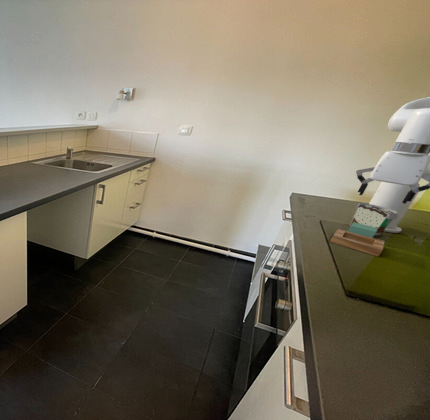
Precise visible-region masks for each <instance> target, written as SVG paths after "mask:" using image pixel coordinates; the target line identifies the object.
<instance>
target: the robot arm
mask: <svg viewBox="0 0 430 420" xmlns="http://www.w3.org/2000/svg"><path fill="white" fill-rule="evenodd" d="M387 129H388V130H389V131H391V132H395V133H399V135H398V136H397V137H396V140H395V142H394V143H393V145H392V147H391V149H390V151H385V152H384V153H383V154H382V155H381V157H380V158H379V160H378V161H377V163H376V164H375V166H373V167H367V168H362V169H357V170H356V171H355V175H356V179H357V180H358V181H359V182H360V183H361V184H360V187H359V189H358V190H357V193H358V195H359V196H363V195H364V193H365V192H366V190H367V187H368V186H369V183H372V182H374V181H377V182H380V184H379V185H378V187H377V189H376V191H375V192H374V194H373V196H372V197H371V199H370V201H369V203H368V204H371V205H376V206H381V207H385V208H388V209H392V210H394V211H396V212H397V214H398V216H397V219H393V220H392V221H391V222H390V223H389V225H388V226H387V227H386V228H385V230H384V231H383V232H386V233H390V234H391V233H392V234H399V233H401V232H402V231H403V230H402V228H401V227H399V224H400V222H401V220H402V219H403V218H404V216H405V214H406V213H407V211H408V210H409V208H410V207H411V205H412V203H413V202H414V200H415V199H416V197H417V196H418V194H419V192H423V191H427V190H429V189H430V96H427V97H422V98H419V99H414V100H412V101H409V102H407V103H405V104H403V105H402V106H400V108H399V109H397V110H396V111H395V112H394V113H393V114H392V115H391V117H390V118H389V120H388V123H387ZM369 172H371V173H370V175H369V177H368V178H365V177H364V175H363V173H369ZM422 179H423V180H424V181H427V182H428V183H426V184H425V185H422V186H421V185H420V183H419V182H420V181H421V180H422Z"/></svg>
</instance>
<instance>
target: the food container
mask: <svg viewBox="0 0 430 420" xmlns="http://www.w3.org/2000/svg"><path fill="white" fill-rule="evenodd" d="M355 208H356V210H355V212H354V215H353V217H352V219H351V221H350V224H349V228H350V227H351V225H352V224H353V222H355V223H359V224H363V225H367V226H371V227H375V228H377V231H376V233H375V235H374V237H373V238H378V237H380V236H381V235H382V233H383V232H385V231H384V230H385V228H386V227H387V226H388V225H389V223H390V222H391V221H392V220H393V219H397V216H398V214H397V212H396V211H394V210H392V209H388V208H385V207H381V206H376V205H371V204H369V203H364V202H359V203H358V204H357V205H356V207H355Z"/></svg>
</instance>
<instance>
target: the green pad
mask: <svg viewBox="0 0 430 420" xmlns="http://www.w3.org/2000/svg"><path fill="white" fill-rule="evenodd" d="M348 231H349V232H352V233H356V234H360V235H364V236H367V237H371V238H375V237H374V235H375V233H376V231H377V228H375V227H371V226H367V225H363V224H359V223H355V222H353V224H352V225H351V227H350V226H349V228H348Z"/></svg>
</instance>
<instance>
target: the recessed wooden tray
mask: <svg viewBox="0 0 430 420" xmlns="http://www.w3.org/2000/svg"><path fill="white" fill-rule="evenodd" d="M329 243H332V244H335V245H339V246H342V247H346V248H347V249H352V250H354V251H359V252H361V253H365V254H369V255H372V256H375V257H380V255H381V254H382V252H383V251H384V247H385V246H384V245H385V240H383V239H378V238H376V237H373V238H371V237H367V236H364V235H360V234H356V233H352V232H349V230H345V229H341V228H337V230H336V231H335V233H334V234H333V235H332V237H331V239H330V240H329Z"/></svg>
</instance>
